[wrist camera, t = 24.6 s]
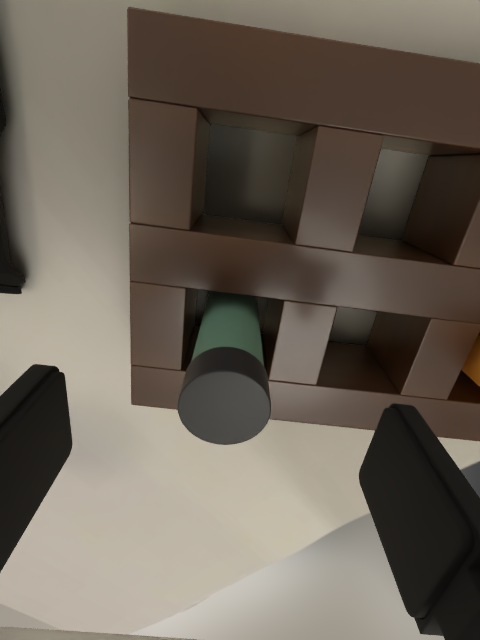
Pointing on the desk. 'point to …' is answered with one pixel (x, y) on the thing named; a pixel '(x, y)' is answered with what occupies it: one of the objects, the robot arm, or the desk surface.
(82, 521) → the desk surface
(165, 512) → the desk surface
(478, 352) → the amber tube
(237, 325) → the sage tube
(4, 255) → the electric trimmer
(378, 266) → the rack
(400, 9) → the desk surface
